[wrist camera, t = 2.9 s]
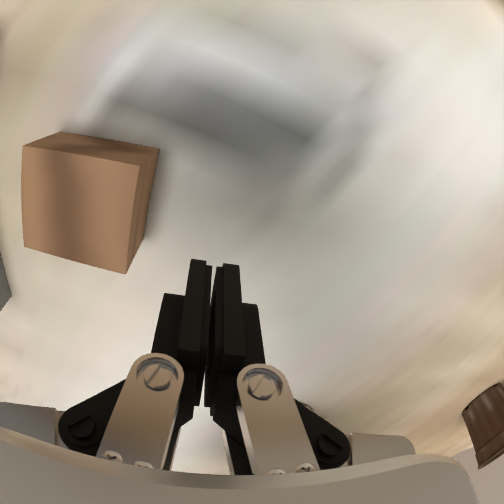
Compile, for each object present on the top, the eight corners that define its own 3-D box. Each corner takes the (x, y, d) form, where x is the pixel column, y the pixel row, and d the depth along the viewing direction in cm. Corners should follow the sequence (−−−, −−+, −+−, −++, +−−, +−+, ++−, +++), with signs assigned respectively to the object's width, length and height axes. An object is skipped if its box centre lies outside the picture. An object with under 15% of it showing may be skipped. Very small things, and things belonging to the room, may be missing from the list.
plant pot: (503, 370, 42) (535, 424, 28) (511, 382, 48) (536, 426, 34) (446, 416, 48) (471, 472, 34) (464, 421, 53) (484, 467, 40)
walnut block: (159, 148, 19) (139, 166, 14) (143, 237, 22) (125, 274, 18) (61, 131, 17) (22, 145, 13) (55, 216, 20) (24, 246, 16)
